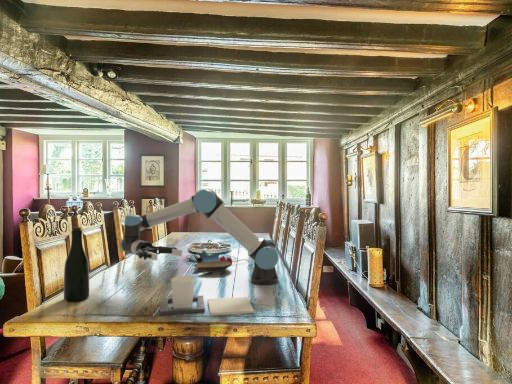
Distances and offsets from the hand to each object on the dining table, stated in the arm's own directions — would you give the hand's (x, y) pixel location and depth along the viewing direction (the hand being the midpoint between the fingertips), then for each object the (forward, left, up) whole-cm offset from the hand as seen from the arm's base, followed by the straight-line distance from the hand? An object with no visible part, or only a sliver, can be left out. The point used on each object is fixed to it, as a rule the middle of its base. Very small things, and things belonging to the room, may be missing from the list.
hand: (169, 255), depth 156 cm
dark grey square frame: (-6, +8, -21) cm, 23 cm away
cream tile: (-26, +12, -21) cm, 35 cm away
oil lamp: (-23, -56, -21) cm, 64 cm away
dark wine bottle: (+42, -11, -21) cm, 48 cm away
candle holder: (-6, +8, -21) cm, 23 cm away
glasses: (-40, -78, -22) cm, 90 cm away
